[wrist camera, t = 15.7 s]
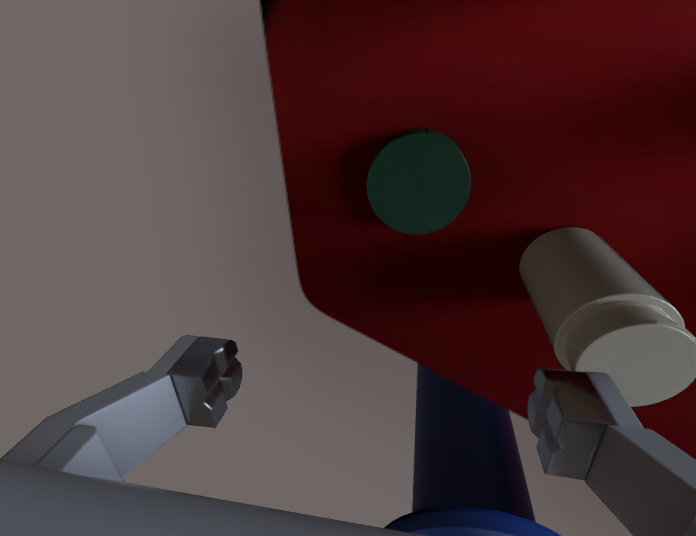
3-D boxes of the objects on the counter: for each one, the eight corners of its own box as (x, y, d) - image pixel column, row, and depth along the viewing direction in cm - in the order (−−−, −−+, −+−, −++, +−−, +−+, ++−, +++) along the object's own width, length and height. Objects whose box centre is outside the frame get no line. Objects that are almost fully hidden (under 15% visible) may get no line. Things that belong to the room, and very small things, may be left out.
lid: (379, 119, 25) (375, 123, 23) (480, 136, 24) (485, 142, 22) (364, 213, 28) (359, 224, 26) (452, 230, 27) (454, 243, 25)
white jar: (585, 306, 28) (666, 424, 19) (507, 289, 29) (546, 395, 19) (625, 236, 25) (745, 335, 16) (537, 219, 26) (601, 304, 16)
